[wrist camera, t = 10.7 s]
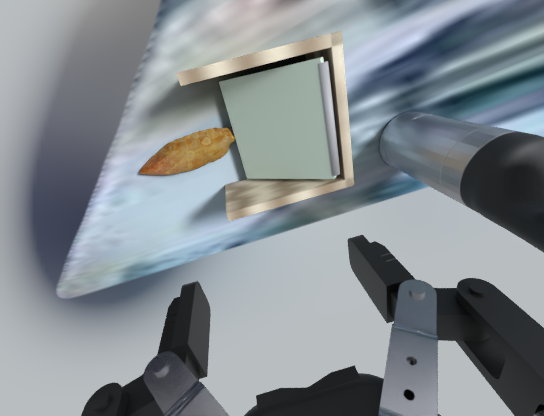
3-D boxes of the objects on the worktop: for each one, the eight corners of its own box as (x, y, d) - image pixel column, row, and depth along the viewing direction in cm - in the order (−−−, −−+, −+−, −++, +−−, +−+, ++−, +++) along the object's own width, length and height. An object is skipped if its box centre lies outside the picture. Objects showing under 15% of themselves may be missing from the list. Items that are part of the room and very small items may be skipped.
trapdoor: (329, 55, 28) (325, 56, 27) (341, 175, 35) (339, 179, 34) (223, 80, 36) (218, 82, 35) (250, 175, 42) (246, 178, 41)
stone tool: (241, 154, 39) (148, 190, 40) (241, 149, 41) (153, 184, 42) (226, 120, 36) (128, 159, 38) (227, 117, 39) (134, 154, 40)
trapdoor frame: (312, 41, 36) (341, 30, 27) (328, 163, 45) (354, 185, 36) (187, 73, 35) (176, 73, 27) (227, 191, 44) (229, 221, 35)
